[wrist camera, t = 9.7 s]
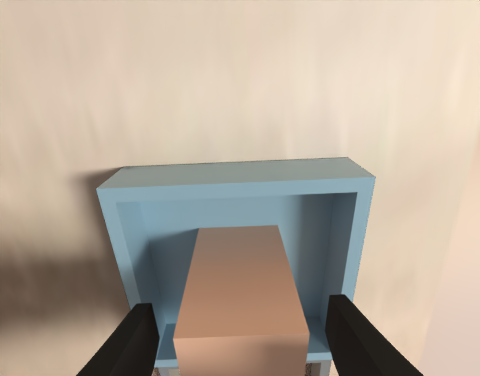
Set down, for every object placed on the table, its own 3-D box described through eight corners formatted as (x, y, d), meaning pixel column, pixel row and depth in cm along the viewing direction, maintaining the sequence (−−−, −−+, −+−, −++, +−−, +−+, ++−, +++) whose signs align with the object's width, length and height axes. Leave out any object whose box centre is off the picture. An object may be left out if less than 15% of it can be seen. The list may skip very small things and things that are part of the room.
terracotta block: (205, 288, 15) (188, 415, 9) (199, 228, 13) (172, 338, 7) (275, 285, 15) (300, 411, 9) (277, 225, 13) (309, 333, 7)
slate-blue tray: (159, 325, 16) (146, 367, 14) (123, 167, 12) (95, 189, 10) (326, 317, 16) (341, 359, 14) (347, 157, 12) (375, 176, 10)
